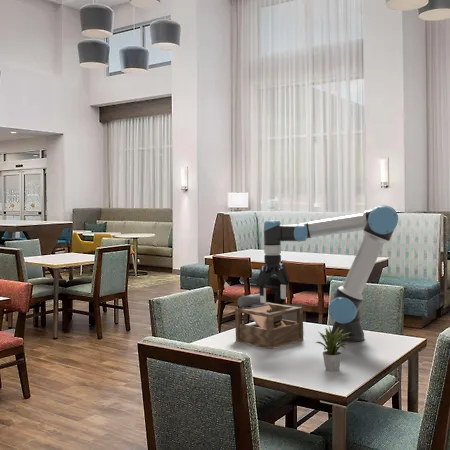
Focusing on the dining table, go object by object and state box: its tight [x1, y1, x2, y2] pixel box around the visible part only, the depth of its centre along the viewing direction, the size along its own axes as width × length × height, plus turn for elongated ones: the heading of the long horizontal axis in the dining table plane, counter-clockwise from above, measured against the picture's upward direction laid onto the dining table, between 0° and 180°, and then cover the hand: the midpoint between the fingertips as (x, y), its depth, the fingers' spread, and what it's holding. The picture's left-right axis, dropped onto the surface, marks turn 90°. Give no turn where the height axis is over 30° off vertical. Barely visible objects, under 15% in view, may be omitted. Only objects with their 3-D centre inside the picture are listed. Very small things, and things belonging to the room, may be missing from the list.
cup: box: [267, 307, 282, 327], centre depth 256 cm, size 8×7×8 cm
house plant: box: [315, 326, 352, 372], centre depth 209 cm, size 14×14×16 cm
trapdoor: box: [236, 292, 286, 329], centre depth 260 cm, size 22×15×5 cm
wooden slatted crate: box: [234, 301, 304, 350], centre depth 257 cm, size 22×22×15 cm
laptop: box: [271, 303, 303, 322], centre depth 284 cm, size 18×12×13 cm
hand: (273, 300), depth 255 cm, fingers open, 13 cm apart
